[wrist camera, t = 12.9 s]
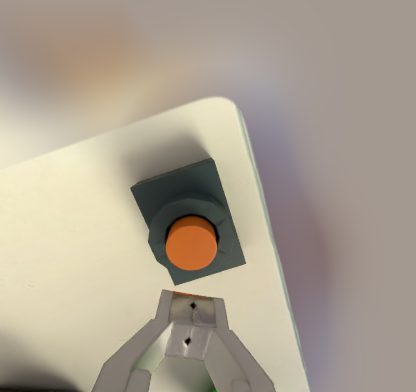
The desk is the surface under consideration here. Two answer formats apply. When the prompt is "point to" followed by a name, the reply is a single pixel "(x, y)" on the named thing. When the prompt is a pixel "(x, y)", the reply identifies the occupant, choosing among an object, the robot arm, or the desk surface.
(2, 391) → the small drawer cabinet
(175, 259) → the button
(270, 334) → the desk surface
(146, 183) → the control block
